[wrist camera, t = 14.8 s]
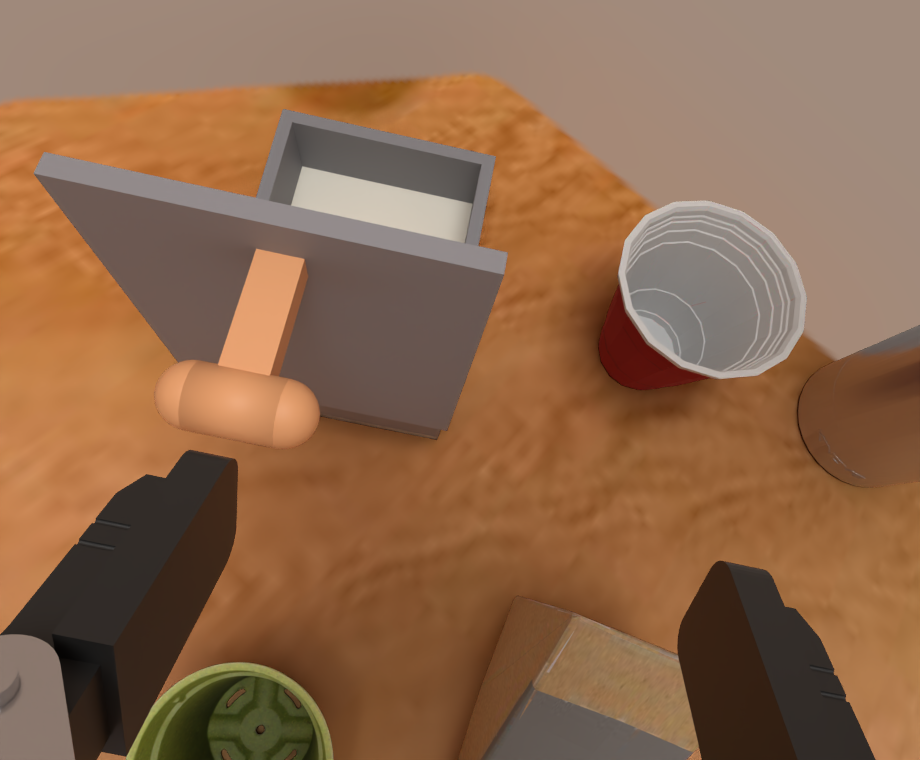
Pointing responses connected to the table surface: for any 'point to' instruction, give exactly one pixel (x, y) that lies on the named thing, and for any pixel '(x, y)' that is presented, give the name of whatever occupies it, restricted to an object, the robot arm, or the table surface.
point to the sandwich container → (577, 693)
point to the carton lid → (282, 303)
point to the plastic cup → (701, 299)
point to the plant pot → (233, 718)
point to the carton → (377, 192)
